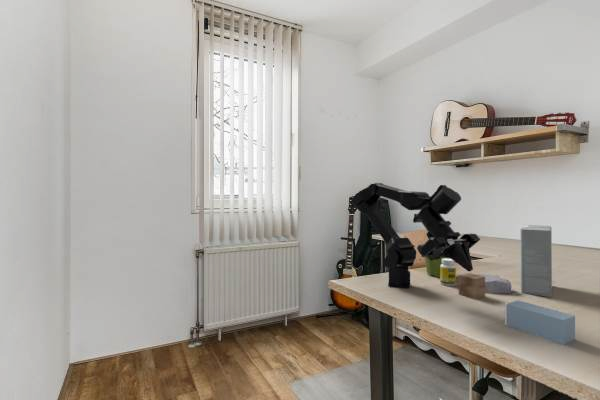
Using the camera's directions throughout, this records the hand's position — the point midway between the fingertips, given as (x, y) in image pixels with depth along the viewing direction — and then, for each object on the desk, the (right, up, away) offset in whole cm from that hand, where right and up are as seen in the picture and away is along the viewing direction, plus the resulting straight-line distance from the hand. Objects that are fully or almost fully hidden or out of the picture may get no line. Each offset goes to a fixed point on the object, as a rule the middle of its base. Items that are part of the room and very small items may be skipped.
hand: (470, 270), depth 81 cm
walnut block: (+7, -10, +11) cm, 16 cm away
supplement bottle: (+5, -10, +23) cm, 26 cm away
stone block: (+16, -10, +19) cm, 27 cm away
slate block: (+5, -8, -9) cm, 13 cm away
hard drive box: (+31, -10, +17) cm, 36 cm away
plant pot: (+7, -10, +35) cm, 37 cm away
